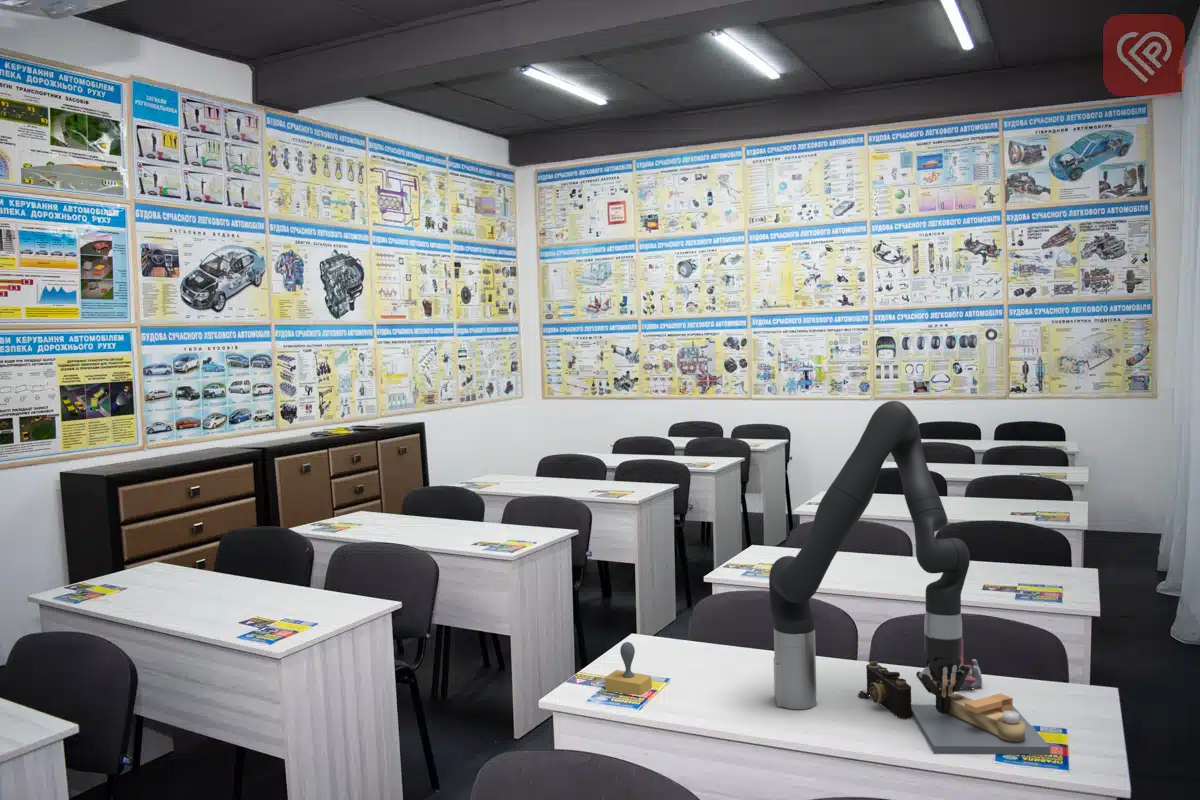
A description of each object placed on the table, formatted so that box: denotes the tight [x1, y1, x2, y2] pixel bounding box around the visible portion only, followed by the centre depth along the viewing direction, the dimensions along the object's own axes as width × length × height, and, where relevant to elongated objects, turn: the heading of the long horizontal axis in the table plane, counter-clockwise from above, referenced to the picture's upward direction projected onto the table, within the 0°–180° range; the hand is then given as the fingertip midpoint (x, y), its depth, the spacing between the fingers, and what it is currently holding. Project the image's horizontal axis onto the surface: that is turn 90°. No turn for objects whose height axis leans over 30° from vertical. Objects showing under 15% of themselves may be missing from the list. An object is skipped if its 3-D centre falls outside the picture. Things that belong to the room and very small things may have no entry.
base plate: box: [911, 704, 1051, 755], centre depth 188 cm, size 22×21×6 cm
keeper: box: [965, 692, 1014, 713], centre depth 187 cm, size 10×3×6 cm, turn 115°
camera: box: [857, 659, 913, 720], centre depth 204 cm, size 16×7×8 cm, turn 11°
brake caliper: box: [955, 638, 983, 689], centre depth 215 cm, size 11×11×12 cm
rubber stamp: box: [604, 641, 653, 695], centre depth 218 cm, size 10×6×12 cm, turn 60°
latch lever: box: [949, 692, 1025, 742], centre depth 188 cm, size 20×5×3 cm, turn 23°
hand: (943, 712), depth 193 cm, fingers closed
